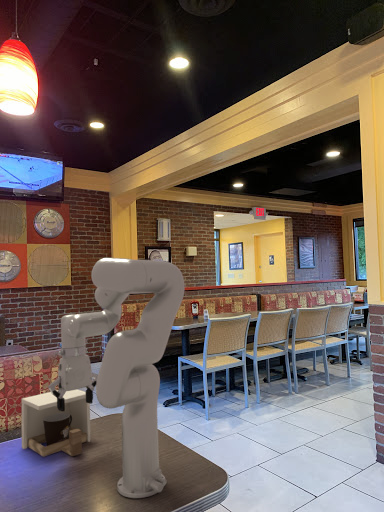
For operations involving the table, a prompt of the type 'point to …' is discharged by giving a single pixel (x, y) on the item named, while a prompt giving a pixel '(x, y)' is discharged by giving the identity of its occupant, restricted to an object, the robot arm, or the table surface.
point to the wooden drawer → (60, 443)
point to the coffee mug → (56, 427)
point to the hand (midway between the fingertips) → (75, 406)
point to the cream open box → (47, 405)
